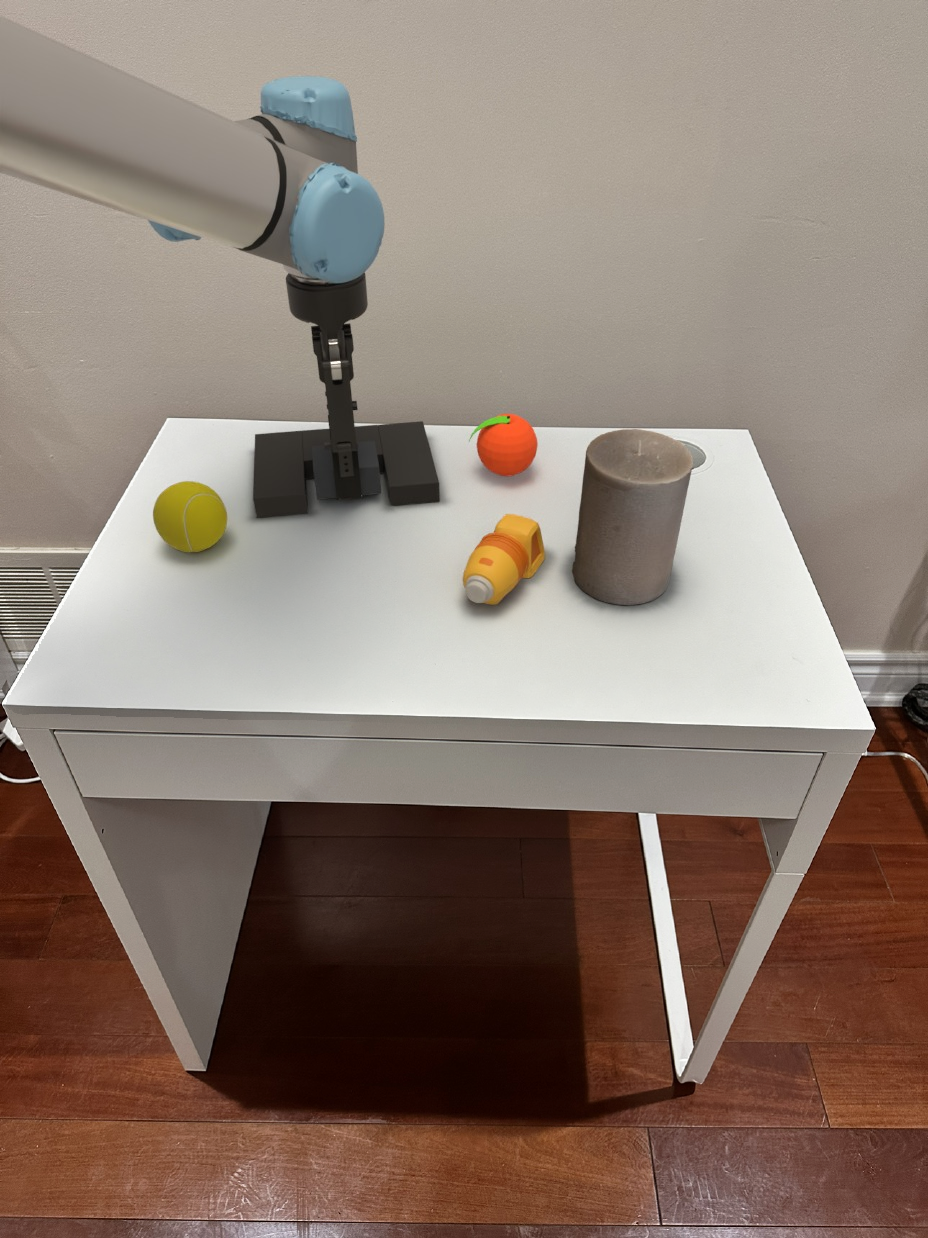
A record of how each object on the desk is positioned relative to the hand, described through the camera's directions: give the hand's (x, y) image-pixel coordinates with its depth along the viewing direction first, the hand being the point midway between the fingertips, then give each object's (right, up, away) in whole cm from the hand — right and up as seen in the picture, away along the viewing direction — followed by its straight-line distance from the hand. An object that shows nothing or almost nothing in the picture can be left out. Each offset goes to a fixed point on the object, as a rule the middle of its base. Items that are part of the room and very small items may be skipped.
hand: (347, 481), depth 98 cm
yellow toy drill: (+17, -12, -11) cm, 23 cm away
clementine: (+17, +2, +4) cm, 18 cm away
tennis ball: (-15, -8, -7) cm, 18 cm away
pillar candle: (+29, -11, -10) cm, 32 cm away
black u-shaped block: (-1, +1, +3) cm, 4 cm away
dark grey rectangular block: (0, 0, 0) cm, 0 cm away
